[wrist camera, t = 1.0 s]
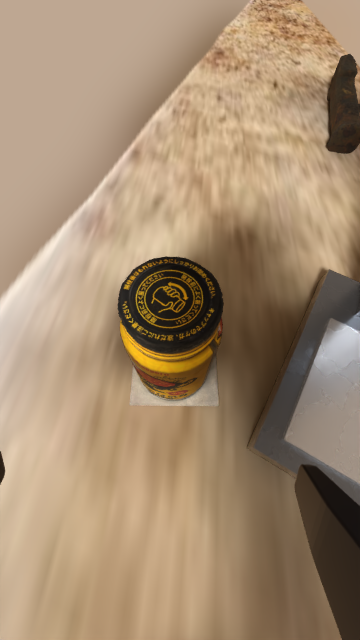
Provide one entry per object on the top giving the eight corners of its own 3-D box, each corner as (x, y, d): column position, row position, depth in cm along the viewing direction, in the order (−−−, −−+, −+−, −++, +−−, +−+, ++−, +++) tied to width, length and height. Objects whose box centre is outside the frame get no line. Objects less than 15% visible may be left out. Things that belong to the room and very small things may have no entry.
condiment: (129, 405, 22) (87, 362, 12) (137, 313, 26) (111, 216, 15) (218, 406, 22) (258, 364, 12) (213, 314, 26) (240, 218, 15)
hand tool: (353, 158, 37) (375, 121, 33) (323, 153, 38) (342, 116, 33) (349, 88, 45) (367, 51, 41) (324, 84, 46) (340, 48, 42)
